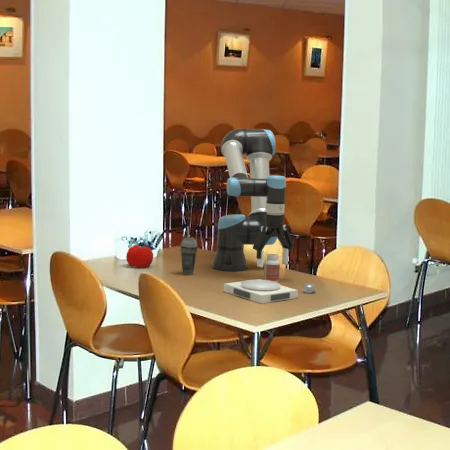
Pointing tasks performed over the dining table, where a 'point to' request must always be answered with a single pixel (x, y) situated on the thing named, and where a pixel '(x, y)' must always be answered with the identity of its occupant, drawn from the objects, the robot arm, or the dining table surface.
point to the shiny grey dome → (309, 288)
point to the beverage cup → (188, 254)
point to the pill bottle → (272, 268)
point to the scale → (260, 290)
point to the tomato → (139, 256)
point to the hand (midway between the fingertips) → (272, 265)
